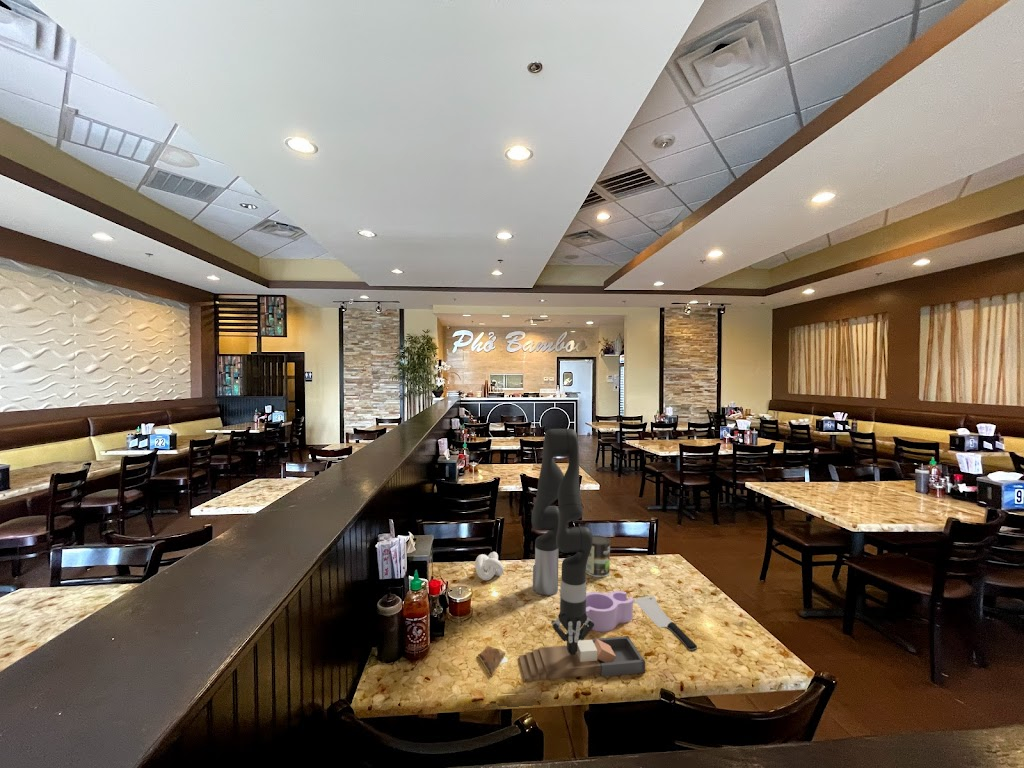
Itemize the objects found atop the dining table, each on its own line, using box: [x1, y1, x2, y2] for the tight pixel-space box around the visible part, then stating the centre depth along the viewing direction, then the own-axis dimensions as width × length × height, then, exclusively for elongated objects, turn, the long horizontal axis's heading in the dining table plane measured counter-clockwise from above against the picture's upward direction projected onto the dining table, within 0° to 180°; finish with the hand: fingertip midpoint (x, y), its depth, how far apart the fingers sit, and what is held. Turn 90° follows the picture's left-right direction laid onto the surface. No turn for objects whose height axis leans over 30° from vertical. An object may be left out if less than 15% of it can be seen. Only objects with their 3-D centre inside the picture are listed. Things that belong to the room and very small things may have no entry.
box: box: [587, 635, 646, 678], centre depth 128 cm, size 13×12×3 cm
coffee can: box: [586, 534, 611, 578], centre depth 185 cm, size 10×10×14 cm
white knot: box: [474, 551, 505, 581], centre depth 181 cm, size 11×12×9 cm
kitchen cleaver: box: [633, 595, 698, 651], centre depth 148 cm, size 31×2×10 cm
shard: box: [477, 645, 507, 678], centre depth 127 cm, size 11×8×2 cm
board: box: [538, 645, 601, 680], centre depth 126 cm, size 16×10×2 cm, turn 98°
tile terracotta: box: [594, 638, 616, 663], centre depth 127 cm, size 5×5×3 cm
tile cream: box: [577, 639, 597, 662], centre depth 126 cm, size 5×5×3 cm
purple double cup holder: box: [586, 590, 634, 632], centre depth 150 cm, size 20×12×7 cm, turn 110°
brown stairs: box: [518, 648, 547, 682], centre depth 124 cm, size 6×10×2 cm, turn 8°
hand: (572, 652), depth 126 cm, fingers closed
